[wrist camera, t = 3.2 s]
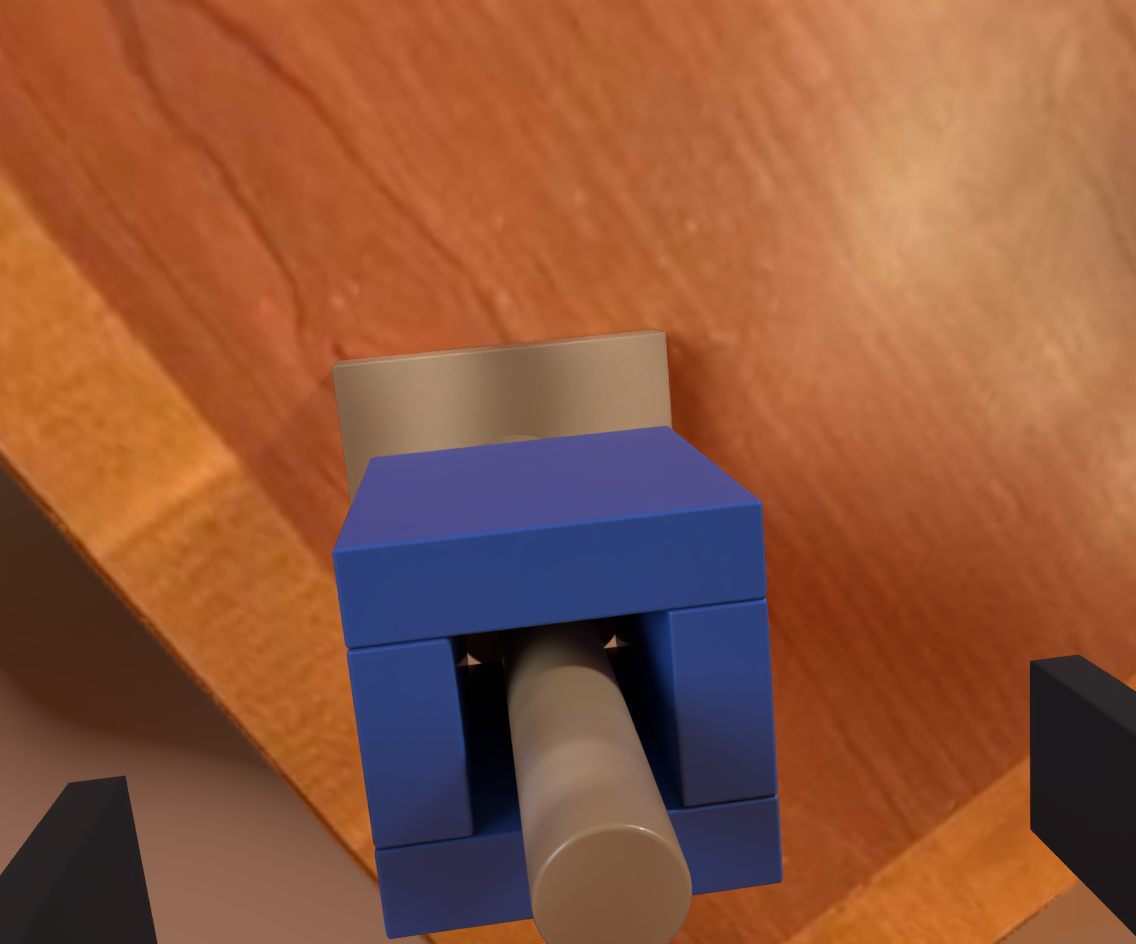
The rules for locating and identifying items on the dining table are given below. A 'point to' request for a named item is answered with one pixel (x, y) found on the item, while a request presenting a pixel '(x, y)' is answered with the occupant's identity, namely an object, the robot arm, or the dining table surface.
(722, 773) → the blue collar
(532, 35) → the dining table surface
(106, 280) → the dining table surface
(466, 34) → the dining table surface
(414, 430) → the dowel stand
